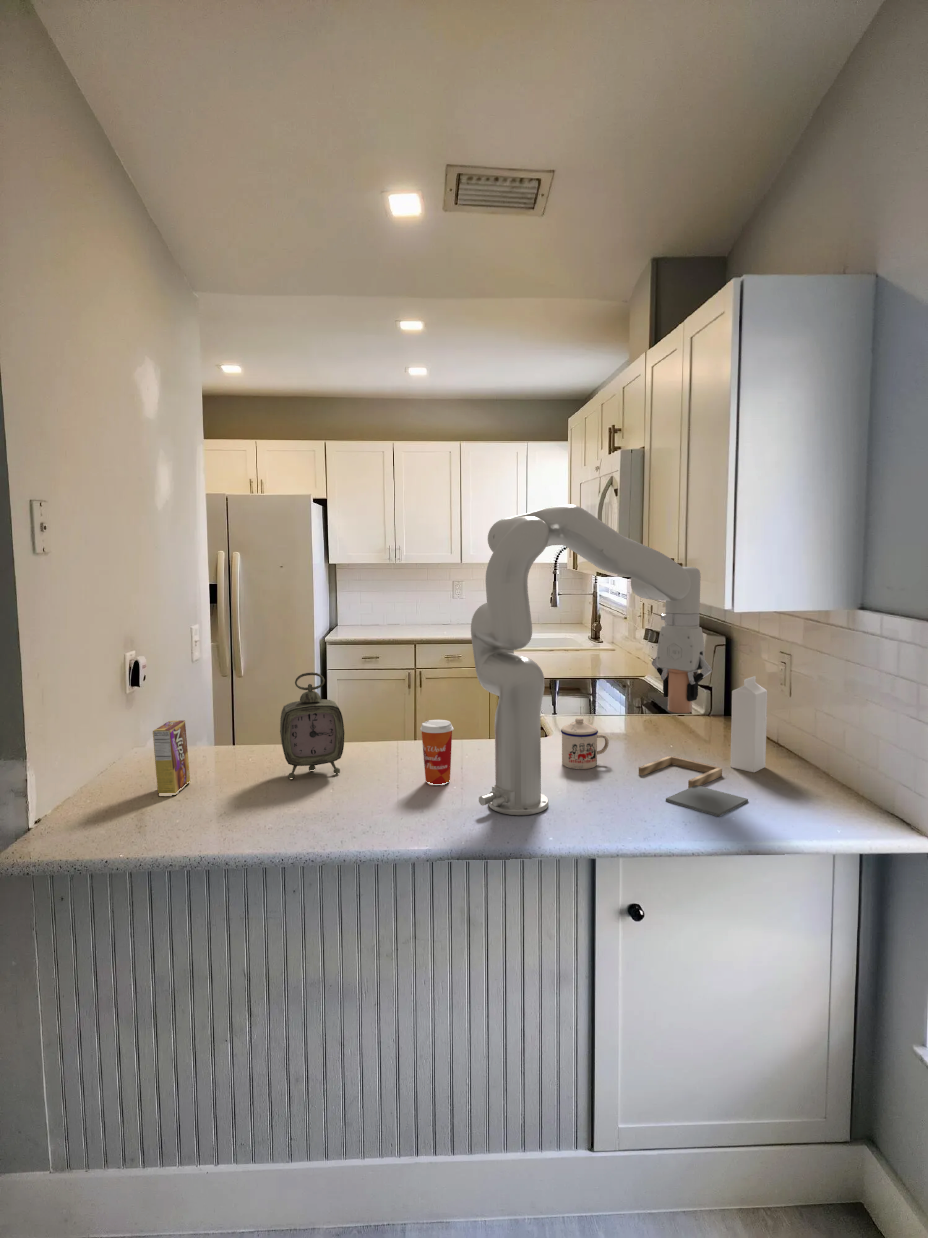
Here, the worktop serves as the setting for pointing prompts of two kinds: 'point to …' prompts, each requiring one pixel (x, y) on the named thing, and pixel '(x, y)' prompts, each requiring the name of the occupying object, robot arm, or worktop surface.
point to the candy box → (171, 756)
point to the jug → (678, 692)
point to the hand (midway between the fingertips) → (680, 697)
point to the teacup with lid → (581, 745)
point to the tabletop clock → (311, 730)
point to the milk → (749, 726)
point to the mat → (707, 800)
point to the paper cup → (437, 750)
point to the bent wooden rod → (709, 770)
